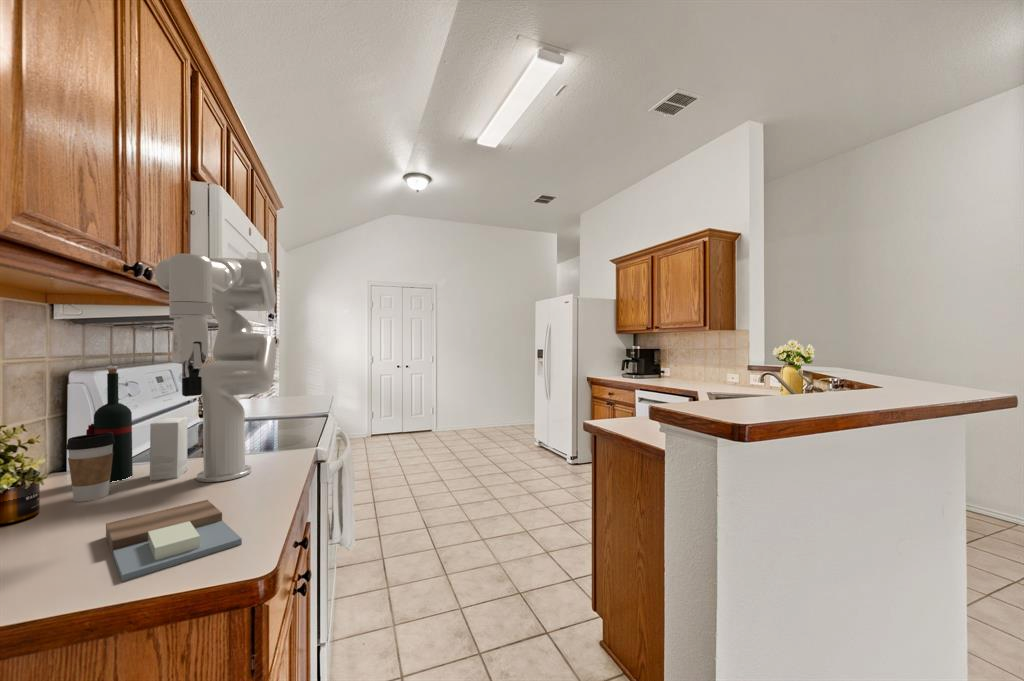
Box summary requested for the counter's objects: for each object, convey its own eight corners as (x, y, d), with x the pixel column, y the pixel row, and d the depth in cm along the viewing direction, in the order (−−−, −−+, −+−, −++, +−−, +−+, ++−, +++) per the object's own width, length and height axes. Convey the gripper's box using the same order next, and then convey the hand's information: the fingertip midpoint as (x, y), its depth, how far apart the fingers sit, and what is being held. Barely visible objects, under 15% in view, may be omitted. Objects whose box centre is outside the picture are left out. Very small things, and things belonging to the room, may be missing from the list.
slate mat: (112, 556, 73) (112, 550, 73) (222, 525, 85) (222, 520, 85) (122, 581, 65) (122, 575, 65) (241, 544, 77) (241, 538, 77)
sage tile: (147, 542, 76) (147, 531, 76) (189, 531, 80) (189, 521, 80) (154, 560, 69) (154, 548, 69) (200, 547, 74) (199, 535, 74)
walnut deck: (105, 536, 81) (105, 523, 81) (207, 511, 92) (207, 499, 92) (112, 555, 73) (112, 541, 73) (222, 525, 85) (222, 512, 85)
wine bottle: (85, 480, 115) (84, 369, 116) (135, 473, 121) (134, 367, 121) (76, 488, 109) (76, 370, 109) (129, 480, 114) (129, 368, 115)
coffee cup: (99, 502, 99) (99, 437, 99) (55, 505, 97) (55, 439, 97) (124, 489, 107) (123, 430, 107) (83, 492, 105) (83, 432, 105)
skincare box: (161, 472, 121) (161, 417, 121) (189, 470, 124) (189, 416, 124) (148, 481, 113) (148, 423, 113) (178, 478, 116) (178, 421, 116)
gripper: (162, 312, 95) (163, 394, 95) (177, 308, 85) (178, 400, 85) (203, 314, 101) (203, 391, 101) (221, 310, 91) (222, 396, 91)
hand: (191, 395), depth 93 cm, fingers closed
